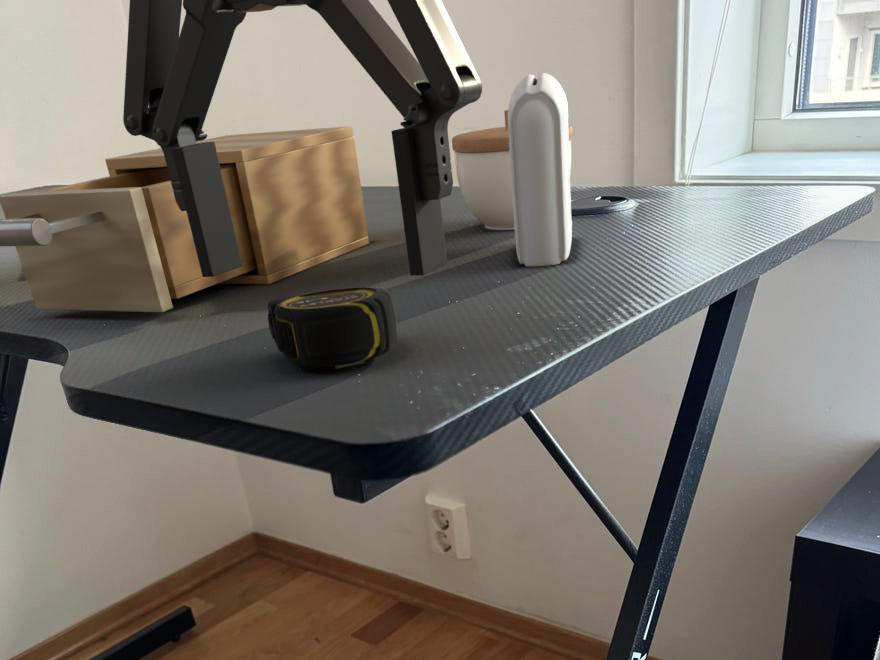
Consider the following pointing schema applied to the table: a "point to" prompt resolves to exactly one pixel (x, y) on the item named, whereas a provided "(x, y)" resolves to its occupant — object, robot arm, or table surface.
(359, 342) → the tape measure
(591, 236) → the table surface
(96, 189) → the drawer
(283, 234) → the cabinet
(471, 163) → the white lidded jar
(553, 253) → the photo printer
